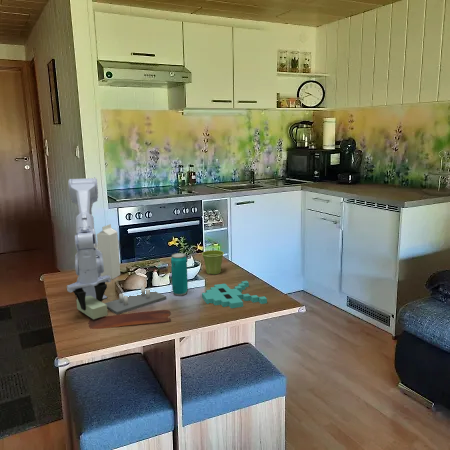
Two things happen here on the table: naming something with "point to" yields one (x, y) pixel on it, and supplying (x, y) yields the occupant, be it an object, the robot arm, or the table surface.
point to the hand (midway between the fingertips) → (91, 306)
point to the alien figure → (230, 295)
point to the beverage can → (179, 274)
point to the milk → (109, 251)
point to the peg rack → (134, 301)
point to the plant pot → (213, 261)
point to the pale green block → (93, 307)
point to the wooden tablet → (130, 319)
